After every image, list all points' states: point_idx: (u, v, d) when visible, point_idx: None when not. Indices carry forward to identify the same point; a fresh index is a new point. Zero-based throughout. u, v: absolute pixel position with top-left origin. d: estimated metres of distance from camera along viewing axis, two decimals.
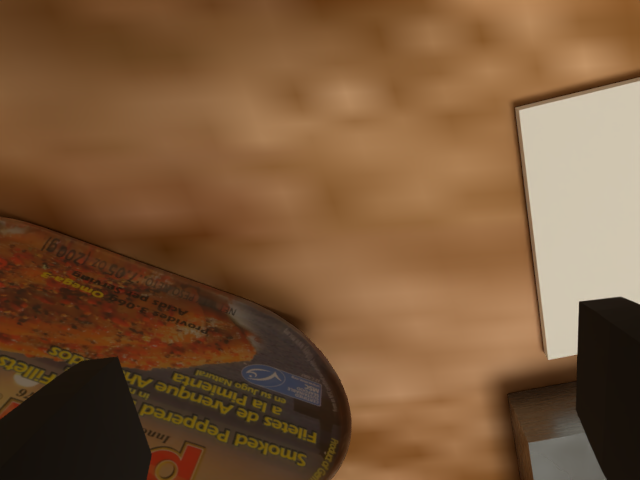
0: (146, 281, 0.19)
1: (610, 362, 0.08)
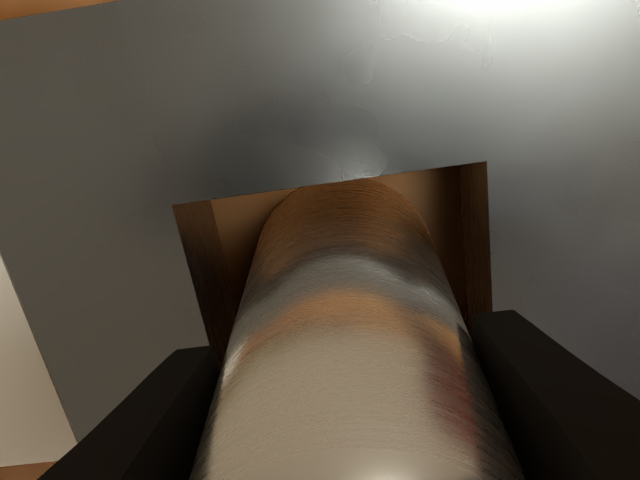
0: None
1: (491, 375, 0.08)
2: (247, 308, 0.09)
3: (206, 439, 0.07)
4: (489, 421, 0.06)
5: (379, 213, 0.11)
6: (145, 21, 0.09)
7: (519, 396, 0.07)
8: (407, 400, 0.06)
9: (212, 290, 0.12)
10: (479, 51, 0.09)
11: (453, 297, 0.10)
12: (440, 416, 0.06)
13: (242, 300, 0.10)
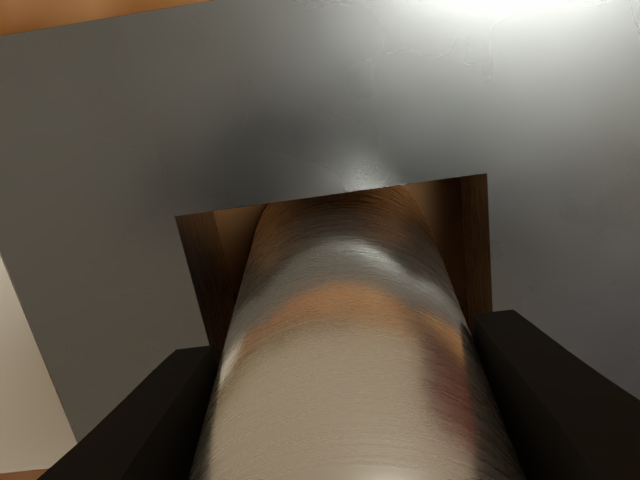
0: None
1: (492, 375, 0.08)
2: (244, 307, 0.09)
3: (203, 448, 0.06)
4: (491, 428, 0.06)
5: (378, 206, 0.10)
6: (148, 35, 0.09)
7: (519, 396, 0.07)
8: (407, 412, 0.06)
9: (214, 299, 0.12)
10: (479, 65, 0.09)
11: (453, 293, 0.09)
12: (442, 428, 0.06)
13: (239, 297, 0.10)
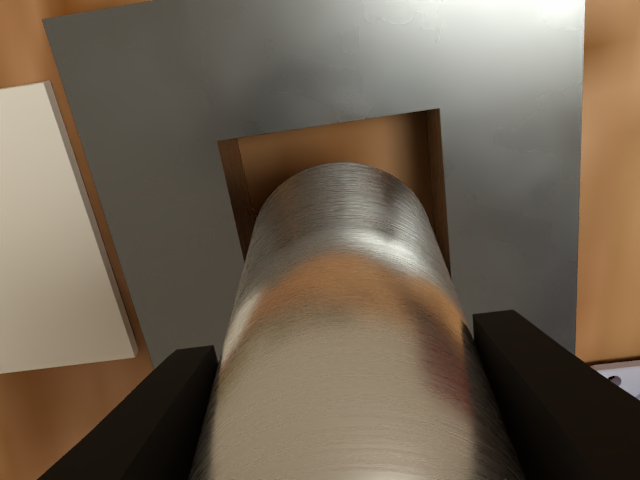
0: None
1: (492, 375, 0.08)
2: (243, 305, 0.09)
3: (203, 450, 0.06)
4: (492, 431, 0.06)
5: (378, 203, 0.10)
6: (203, 9, 0.13)
7: (519, 396, 0.07)
8: (409, 416, 0.06)
9: (241, 212, 0.16)
10: (432, 30, 0.13)
11: (454, 290, 0.09)
12: (443, 431, 0.06)
13: (238, 294, 0.10)
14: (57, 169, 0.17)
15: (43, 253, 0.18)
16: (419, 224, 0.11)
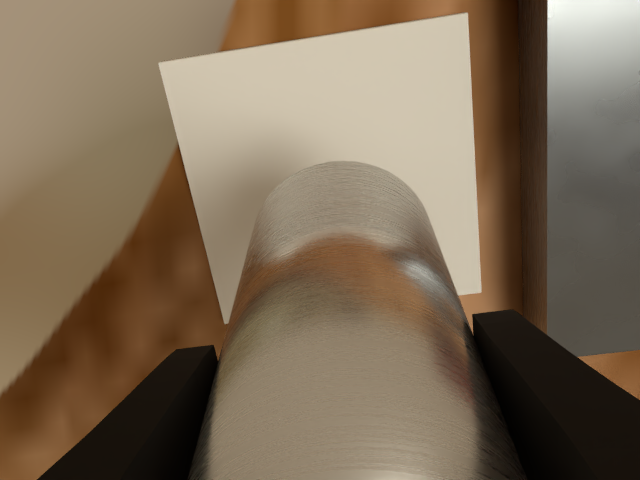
0: None
1: (491, 375, 0.08)
2: (243, 304, 0.09)
3: (202, 449, 0.06)
4: (493, 430, 0.06)
5: (378, 201, 0.10)
6: None
7: (519, 396, 0.07)
8: (409, 414, 0.06)
9: None
10: None
11: (454, 289, 0.09)
12: (444, 431, 0.06)
13: (237, 293, 0.10)
14: (457, 101, 0.17)
15: (420, 186, 0.18)
16: (419, 223, 0.11)
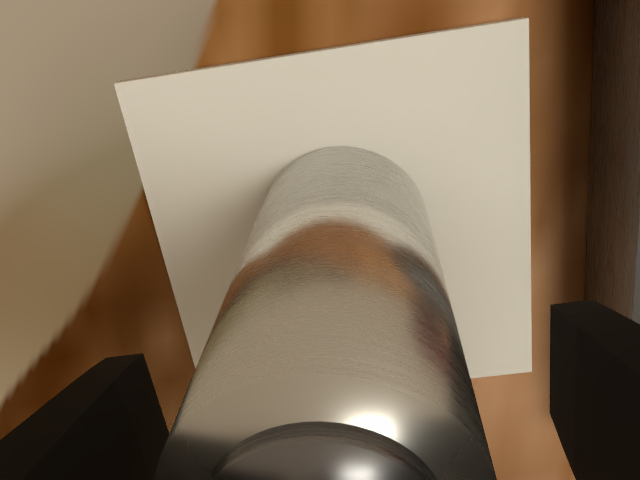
0: None
1: (578, 365, 0.08)
2: (242, 264, 0.10)
3: (196, 372, 0.07)
4: (445, 360, 0.07)
5: (371, 180, 0.11)
6: None
7: (621, 385, 0.07)
8: (367, 338, 0.07)
9: None
10: None
11: (436, 258, 0.10)
12: (397, 353, 0.06)
13: None
14: (510, 134, 0.13)
15: (458, 242, 0.14)
16: (410, 201, 0.12)
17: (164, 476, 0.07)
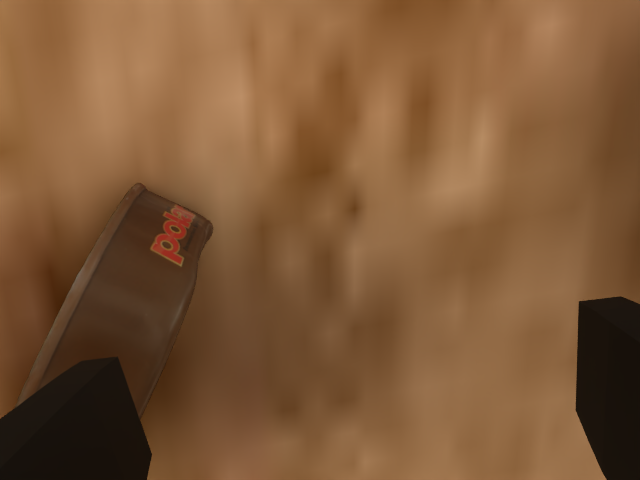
0: None
1: (610, 362, 0.08)
2: None
3: None
4: None
5: None
6: None
7: None
8: None
9: None
10: None
11: None
12: None
13: None
14: None
15: None
16: None
17: None
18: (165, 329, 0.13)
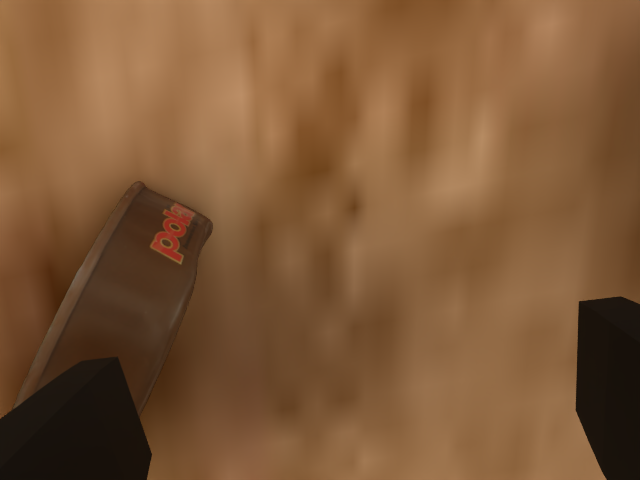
0: None
1: (610, 362, 0.08)
2: None
3: None
4: None
5: None
6: None
7: None
8: None
9: None
10: None
11: None
12: None
13: None
14: None
15: None
16: None
17: None
18: (165, 327, 0.13)
